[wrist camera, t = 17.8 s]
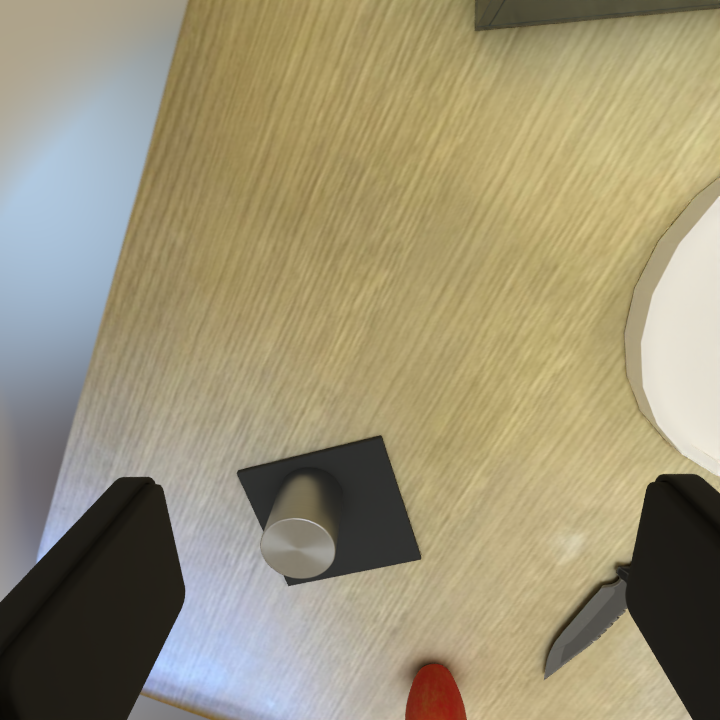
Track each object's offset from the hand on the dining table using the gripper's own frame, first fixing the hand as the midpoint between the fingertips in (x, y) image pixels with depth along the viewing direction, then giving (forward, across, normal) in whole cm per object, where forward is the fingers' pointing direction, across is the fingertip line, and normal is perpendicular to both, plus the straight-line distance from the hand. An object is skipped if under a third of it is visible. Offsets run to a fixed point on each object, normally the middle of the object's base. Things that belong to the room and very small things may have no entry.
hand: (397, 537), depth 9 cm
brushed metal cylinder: (+28, +8, +20) cm, 35 cm away
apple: (+29, -4, +43) cm, 52 cm away
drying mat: (+28, +6, +22) cm, 37 cm away
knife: (+28, -22, +32) cm, 48 cm away
